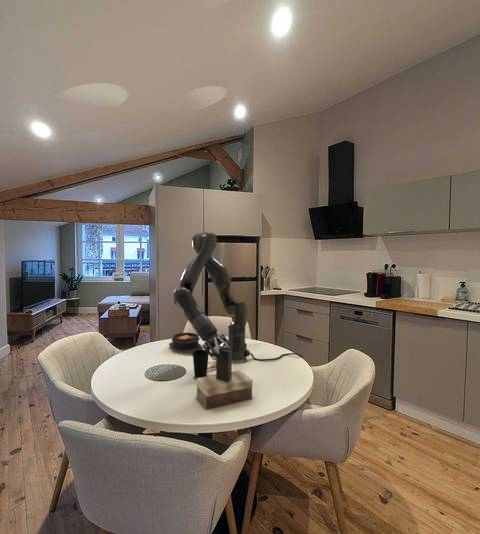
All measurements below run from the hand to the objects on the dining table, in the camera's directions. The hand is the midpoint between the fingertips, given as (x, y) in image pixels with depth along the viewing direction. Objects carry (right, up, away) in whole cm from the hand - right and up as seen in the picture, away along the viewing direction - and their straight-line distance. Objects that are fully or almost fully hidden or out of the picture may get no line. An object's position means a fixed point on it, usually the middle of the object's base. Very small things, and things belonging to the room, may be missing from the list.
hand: (228, 359), depth 125 cm
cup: (-13, -15, +23) cm, 30 cm away
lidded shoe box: (-1, -16, +2) cm, 16 cm away
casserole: (-25, -13, +64) cm, 70 cm away
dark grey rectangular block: (-2, -8, +1) cm, 8 cm away
